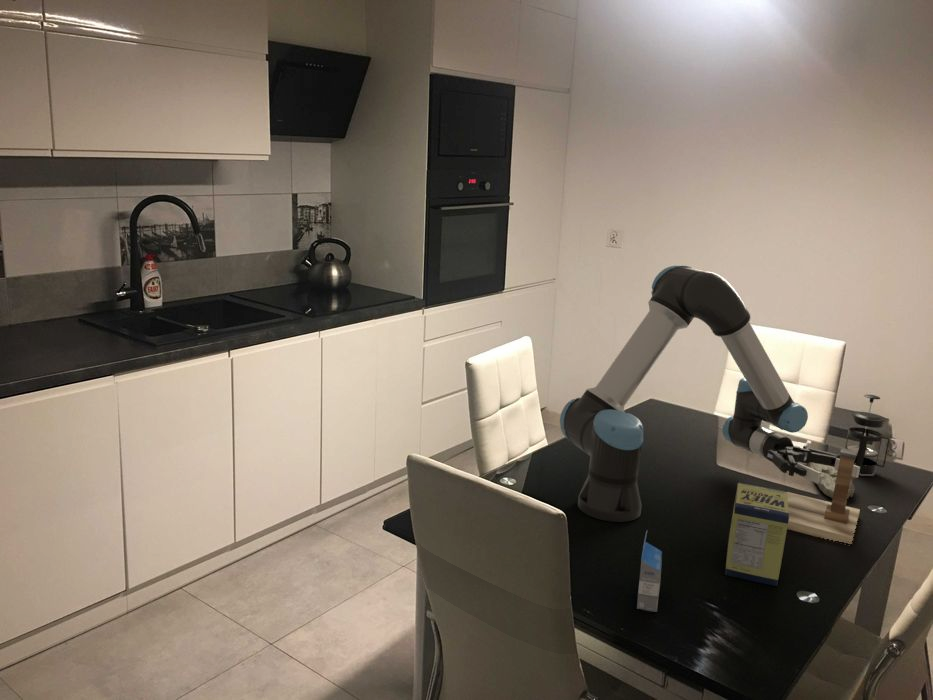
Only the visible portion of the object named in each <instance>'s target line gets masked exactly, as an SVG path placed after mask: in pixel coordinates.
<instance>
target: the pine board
mask: <svg viewBox="0 0 933 700" xmlns="http://www.w3.org/2000/svg"><path fill="white" fill-rule="evenodd" d="M787 496H788V510H789V521H788V526H787V530H790V531H794V532H798V533H801V534H805V535H808V536H809V535H810V536H812V537H816V538H819V537H820V538H821V539H823V538H824V540H827V539H829V540H828V541H831V540H833V541H832V542H835V541H839V542H844V543H848V544H852V545H853V542H852V541H854V538H853V537H854V536H855V534H856V530H855V529H856V528H857V526H856V525H858V522H857V521H859V517H860V511H861V509H860V508H856V507H851V506H847V505H846V508H845V509H849V510H850V512H849V518H848V521H847V524H843V523H840V522H836V521H832V520H828V519H824V516H825V511H826V508H827V505H828V504H829V505H832V501H826V500H822V499H818V498H814V497H810V496H806V495H801V494H799V493H798V494H797V493H793V492H790V491H787ZM854 533H855V534H854Z"/></svg>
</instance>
